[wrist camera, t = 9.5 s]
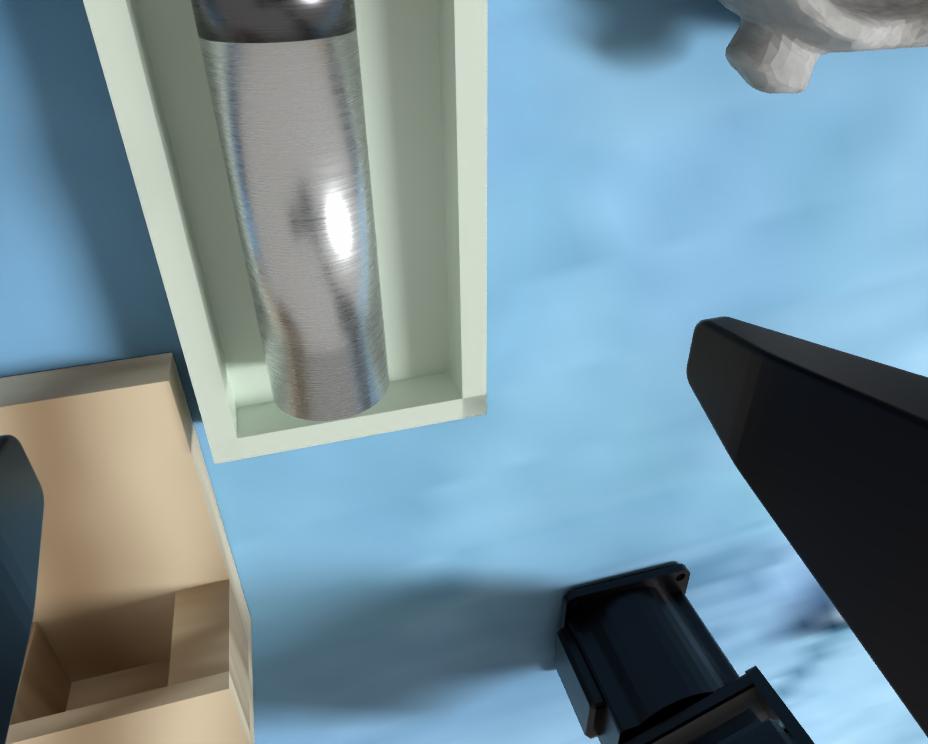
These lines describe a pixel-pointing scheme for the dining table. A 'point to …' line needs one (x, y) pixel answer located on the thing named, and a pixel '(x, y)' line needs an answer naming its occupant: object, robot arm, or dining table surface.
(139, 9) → the tray
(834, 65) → the dining table surface
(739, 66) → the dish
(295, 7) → the pin
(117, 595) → the bracket
